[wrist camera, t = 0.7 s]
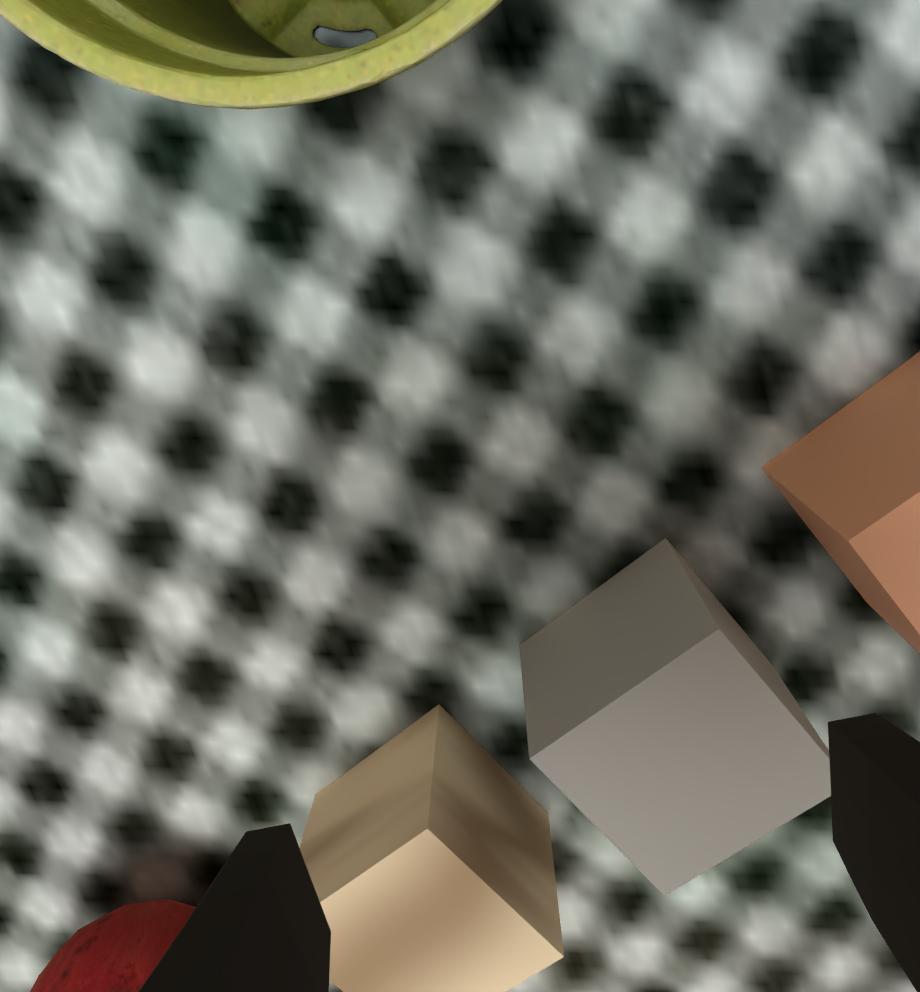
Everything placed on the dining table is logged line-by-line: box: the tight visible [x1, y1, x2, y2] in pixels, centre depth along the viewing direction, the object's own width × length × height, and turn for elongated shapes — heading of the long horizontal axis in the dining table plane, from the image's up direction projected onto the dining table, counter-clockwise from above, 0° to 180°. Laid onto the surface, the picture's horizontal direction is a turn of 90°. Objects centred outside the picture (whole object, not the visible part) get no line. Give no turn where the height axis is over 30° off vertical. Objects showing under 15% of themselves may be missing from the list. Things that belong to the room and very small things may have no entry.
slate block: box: [519, 538, 831, 896], centre depth 19 cm, size 5×5×5 cm
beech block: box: [300, 705, 564, 992], centre depth 21 cm, size 5×5×5 cm
